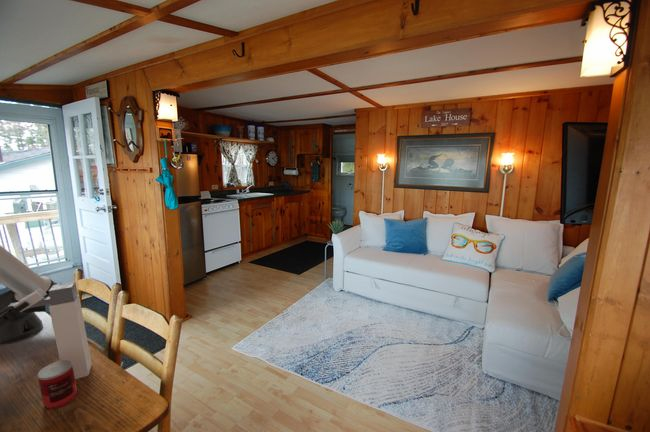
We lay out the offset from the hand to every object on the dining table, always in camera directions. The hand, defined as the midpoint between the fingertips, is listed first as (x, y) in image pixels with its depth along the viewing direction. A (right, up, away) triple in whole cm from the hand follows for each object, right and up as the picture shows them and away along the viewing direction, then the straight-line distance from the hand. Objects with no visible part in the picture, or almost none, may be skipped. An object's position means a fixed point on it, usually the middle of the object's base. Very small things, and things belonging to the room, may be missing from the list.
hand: (41, 293), depth 90 cm
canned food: (+8, -33, -2) cm, 34 cm away
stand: (+4, -31, +9) cm, 32 cm away
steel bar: (0, -4, +1) cm, 4 cm away
